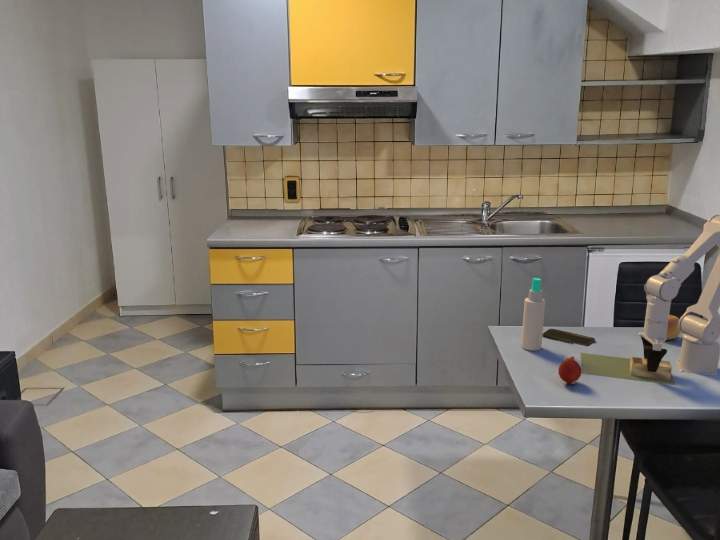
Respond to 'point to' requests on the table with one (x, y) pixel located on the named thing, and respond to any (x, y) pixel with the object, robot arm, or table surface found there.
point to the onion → (569, 370)
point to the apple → (672, 327)
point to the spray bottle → (533, 318)
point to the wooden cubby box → (640, 369)
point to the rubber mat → (614, 368)
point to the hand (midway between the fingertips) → (650, 366)
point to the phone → (568, 337)
